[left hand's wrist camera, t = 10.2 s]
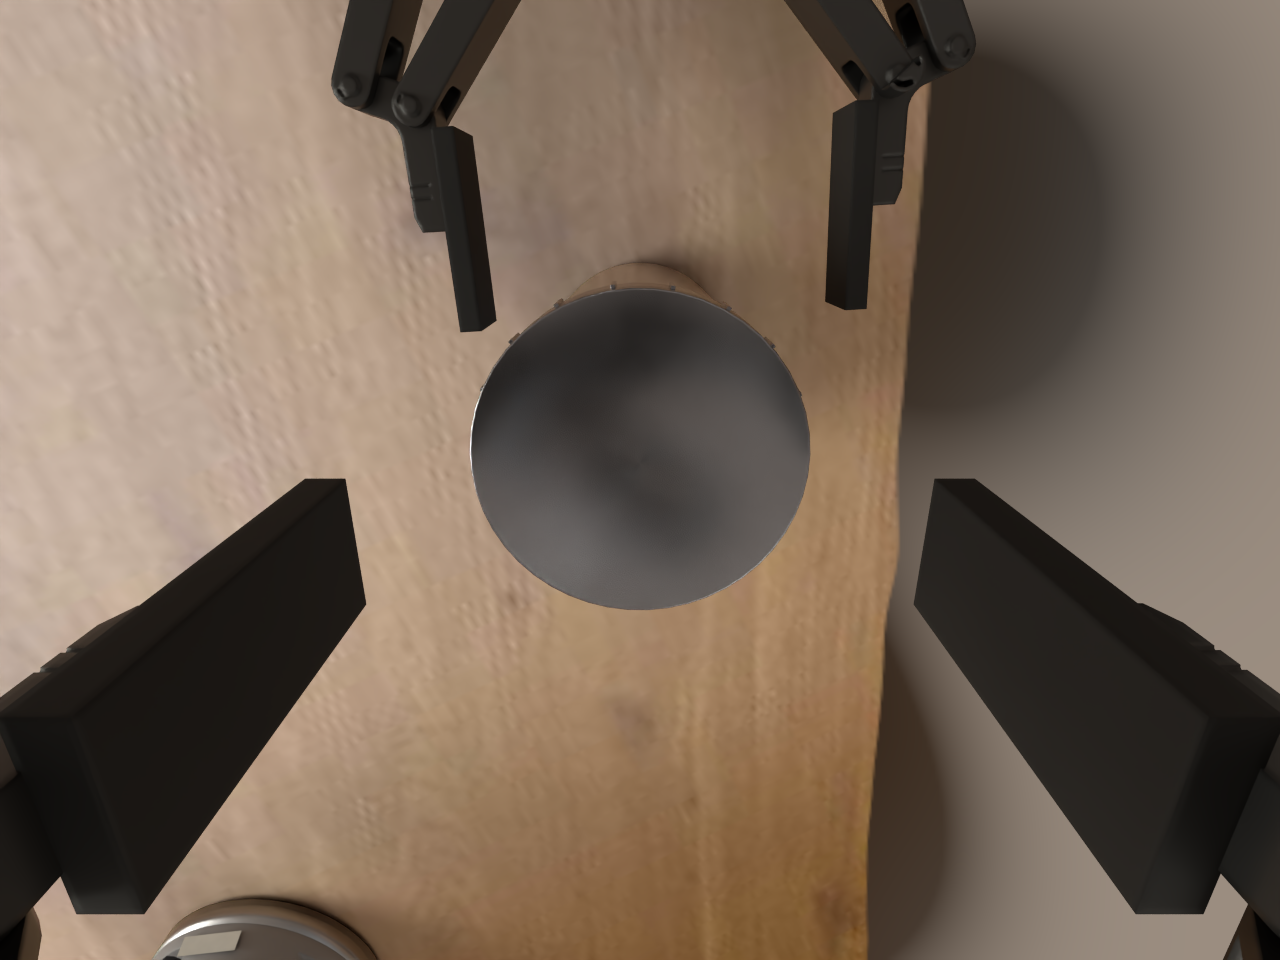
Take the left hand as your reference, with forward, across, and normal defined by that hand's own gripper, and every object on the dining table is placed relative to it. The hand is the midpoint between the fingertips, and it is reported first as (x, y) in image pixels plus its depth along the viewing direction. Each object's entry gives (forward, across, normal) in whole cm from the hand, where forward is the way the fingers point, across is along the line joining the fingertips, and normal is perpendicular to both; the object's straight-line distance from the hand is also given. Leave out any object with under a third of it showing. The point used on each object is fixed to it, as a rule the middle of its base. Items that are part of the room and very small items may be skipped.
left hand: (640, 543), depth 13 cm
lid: (+5, 0, 0) cm, 5 cm away
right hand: (+14, +1, +2) cm, 14 cm away
